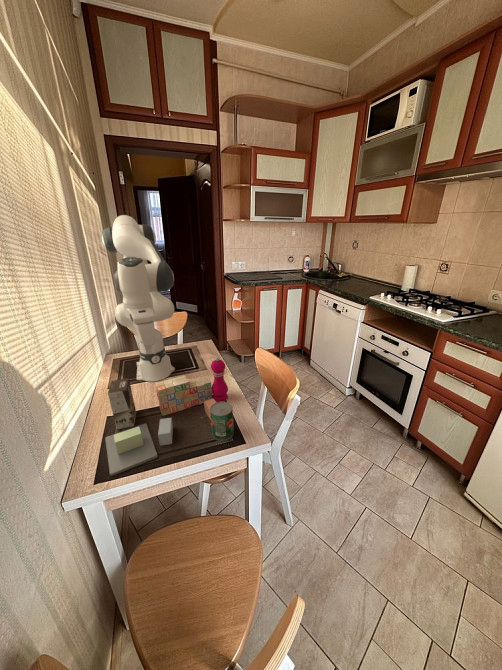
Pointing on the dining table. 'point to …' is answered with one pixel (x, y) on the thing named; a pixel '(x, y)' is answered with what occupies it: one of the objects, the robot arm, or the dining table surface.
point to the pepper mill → (219, 381)
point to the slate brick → (165, 431)
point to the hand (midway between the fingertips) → (146, 347)
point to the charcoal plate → (130, 453)
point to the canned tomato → (222, 420)
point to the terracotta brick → (208, 406)
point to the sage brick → (128, 440)
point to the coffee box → (122, 403)
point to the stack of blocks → (182, 393)
